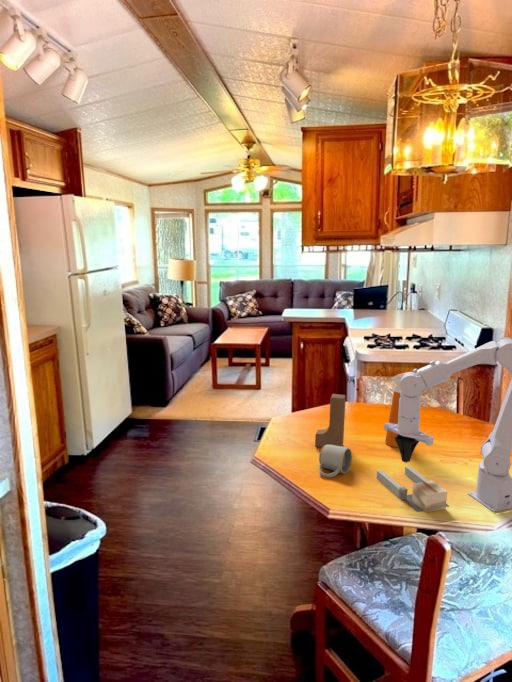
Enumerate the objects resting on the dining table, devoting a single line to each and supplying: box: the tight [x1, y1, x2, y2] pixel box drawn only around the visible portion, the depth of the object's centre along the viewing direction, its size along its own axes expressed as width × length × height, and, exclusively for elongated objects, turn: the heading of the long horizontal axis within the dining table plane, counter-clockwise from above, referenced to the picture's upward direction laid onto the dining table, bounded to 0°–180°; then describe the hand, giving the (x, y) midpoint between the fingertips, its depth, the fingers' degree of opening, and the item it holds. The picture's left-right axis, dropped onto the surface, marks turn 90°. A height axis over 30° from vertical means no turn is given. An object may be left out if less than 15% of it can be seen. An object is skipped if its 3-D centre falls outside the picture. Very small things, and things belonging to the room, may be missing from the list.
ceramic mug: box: [318, 445, 353, 479], centre depth 144 cm, size 11×8×8 cm
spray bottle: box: [384, 372, 406, 448], centre depth 162 cm, size 7×11×26 cm, turn 46°
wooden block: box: [314, 393, 347, 448], centre depth 162 cm, size 9×4×18 cm, turn 72°
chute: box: [376, 465, 430, 501], centre depth 136 cm, size 13×11×3 cm
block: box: [411, 480, 448, 513], centre depth 126 cm, size 6×6×5 cm
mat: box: [403, 493, 450, 513], centre depth 128 cm, size 8×10×1 cm
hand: (405, 460), depth 136 cm, fingers closed
